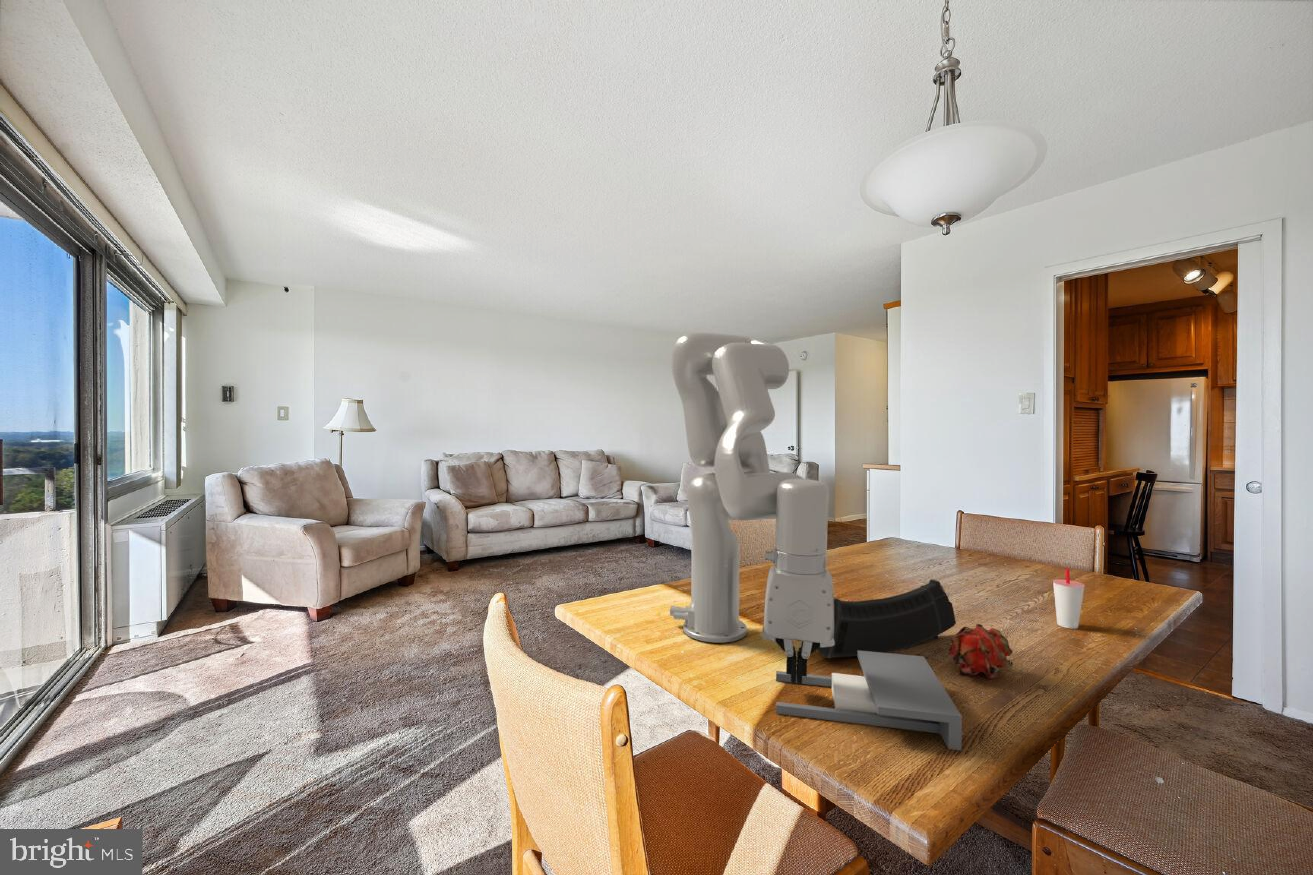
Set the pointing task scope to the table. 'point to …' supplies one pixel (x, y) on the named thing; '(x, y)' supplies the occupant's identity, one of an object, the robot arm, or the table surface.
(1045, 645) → the table surface
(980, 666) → the dragon fruit
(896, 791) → the table surface
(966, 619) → the table surface
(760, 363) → the robot arm
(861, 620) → the magazine
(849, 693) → the white rounded slab
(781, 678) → the dock
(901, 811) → the table surface
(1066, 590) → the cup
